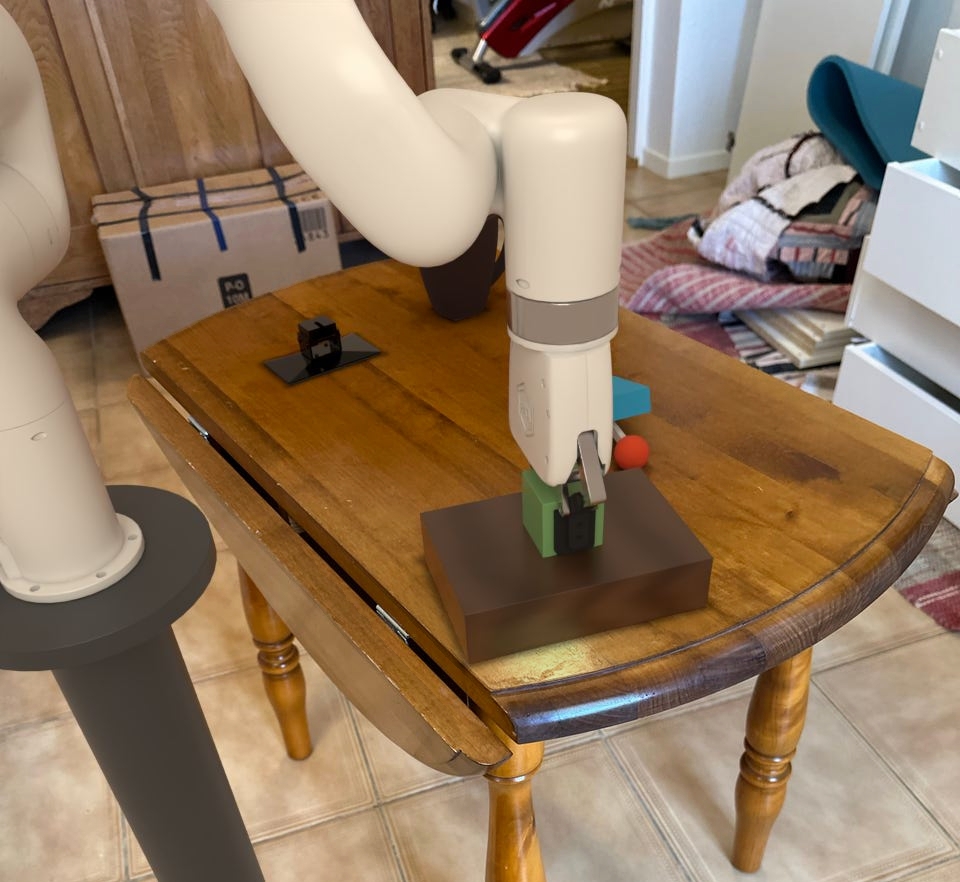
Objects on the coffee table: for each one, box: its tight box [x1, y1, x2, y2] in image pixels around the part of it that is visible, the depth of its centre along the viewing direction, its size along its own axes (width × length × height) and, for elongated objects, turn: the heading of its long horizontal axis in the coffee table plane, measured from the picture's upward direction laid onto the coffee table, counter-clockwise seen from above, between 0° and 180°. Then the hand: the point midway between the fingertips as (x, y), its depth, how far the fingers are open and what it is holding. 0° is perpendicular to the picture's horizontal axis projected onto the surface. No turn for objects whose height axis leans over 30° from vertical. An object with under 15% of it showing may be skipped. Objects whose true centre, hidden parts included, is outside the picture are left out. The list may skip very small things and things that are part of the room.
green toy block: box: [521, 464, 604, 558], centre depth 73 cm, size 5×5×5 cm
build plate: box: [263, 314, 382, 386], centre depth 110 cm, size 12×7×5 cm, turn 125°
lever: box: [612, 374, 652, 470], centre depth 95 cm, size 7×7×18 cm
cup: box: [418, 214, 506, 321], centre depth 117 cm, size 10×14×12 cm
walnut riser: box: [419, 467, 714, 665], centre depth 76 cm, size 20×14×5 cm
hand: (561, 527), depth 74 cm, fingers closed on green toy block, 5 cm apart
